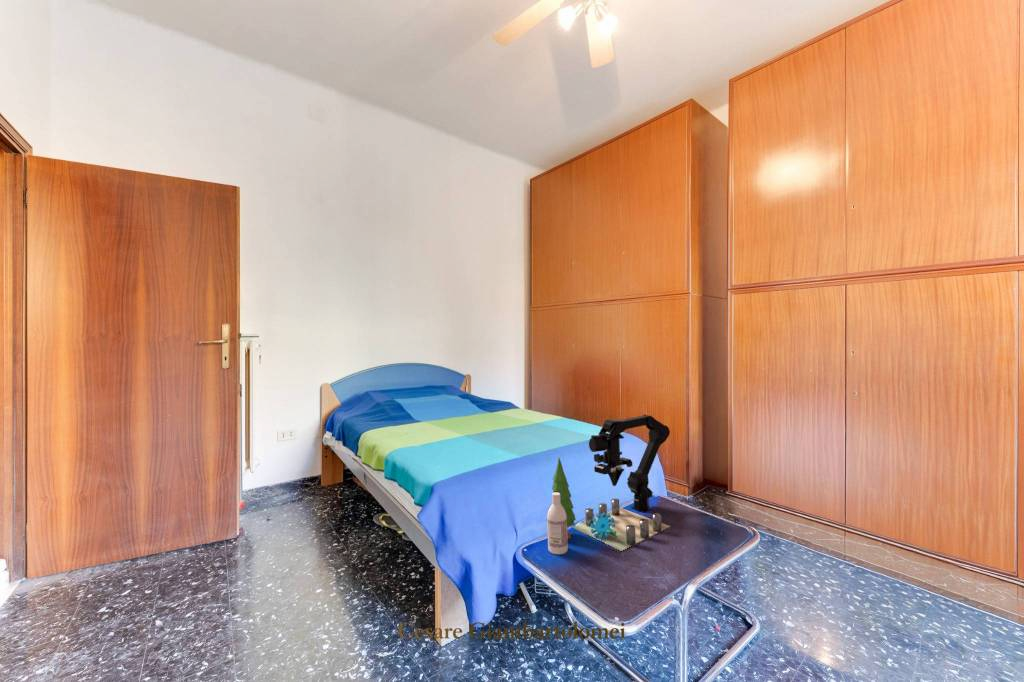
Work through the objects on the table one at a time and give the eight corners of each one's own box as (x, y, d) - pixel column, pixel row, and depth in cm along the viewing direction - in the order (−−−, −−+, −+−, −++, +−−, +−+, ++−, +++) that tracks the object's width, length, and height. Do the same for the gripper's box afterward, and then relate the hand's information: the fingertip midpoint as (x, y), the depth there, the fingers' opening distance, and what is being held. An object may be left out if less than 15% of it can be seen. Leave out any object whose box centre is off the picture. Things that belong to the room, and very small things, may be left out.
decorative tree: (557, 528, 157) (555, 453, 158) (580, 533, 153) (577, 455, 153) (548, 539, 148) (545, 459, 149) (572, 544, 144) (569, 462, 145)
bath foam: (569, 554, 137) (567, 496, 138) (549, 555, 137) (547, 497, 137) (565, 544, 144) (563, 489, 144) (546, 545, 144) (545, 490, 144)
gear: (584, 528, 152) (599, 506, 155) (591, 536, 154) (606, 514, 157) (605, 544, 142) (620, 520, 145) (613, 551, 145) (627, 528, 148)
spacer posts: (615, 512, 170) (614, 498, 171) (663, 530, 152) (662, 515, 152) (584, 524, 159) (583, 509, 159) (632, 546, 140) (631, 529, 141)
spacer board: (620, 508, 175) (620, 507, 175) (669, 527, 155) (669, 526, 155) (572, 528, 157) (572, 527, 157) (621, 552, 138) (621, 550, 138)
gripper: (612, 442, 182) (613, 476, 182) (584, 449, 171) (585, 485, 171) (632, 447, 173) (633, 482, 173) (604, 454, 162) (605, 492, 162)
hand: (614, 485), depth 170 cm, fingers closed
